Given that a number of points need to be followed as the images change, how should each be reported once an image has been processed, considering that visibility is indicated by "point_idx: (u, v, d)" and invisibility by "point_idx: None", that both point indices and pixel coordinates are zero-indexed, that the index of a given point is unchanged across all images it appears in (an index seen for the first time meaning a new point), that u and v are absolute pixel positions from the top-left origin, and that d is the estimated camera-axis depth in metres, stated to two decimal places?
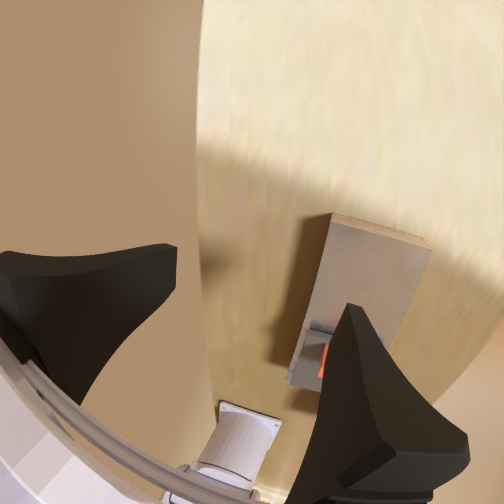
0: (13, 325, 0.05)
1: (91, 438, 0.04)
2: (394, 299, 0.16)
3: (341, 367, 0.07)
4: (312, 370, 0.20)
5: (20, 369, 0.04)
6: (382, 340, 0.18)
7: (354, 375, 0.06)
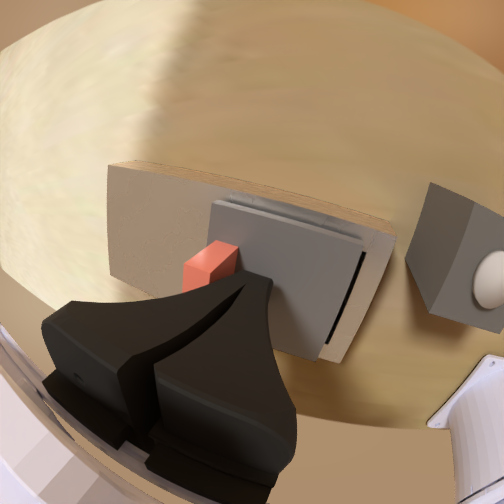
0: (90, 399, 0.04)
1: (91, 438, 0.04)
2: (162, 200, 0.12)
3: None
4: (271, 325, 0.12)
5: (20, 369, 0.04)
6: None
7: None
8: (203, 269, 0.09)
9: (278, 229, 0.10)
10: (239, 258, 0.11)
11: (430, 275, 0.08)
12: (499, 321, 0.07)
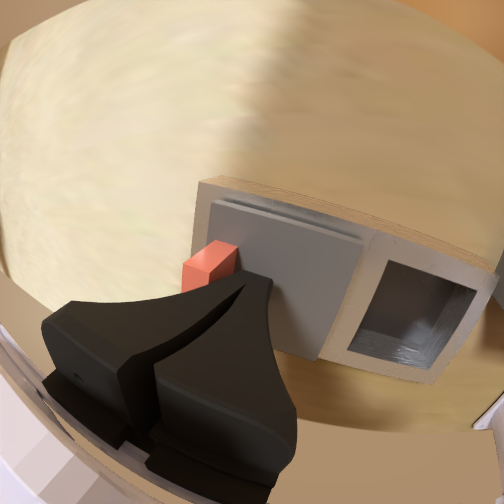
0: (90, 399, 0.04)
1: (91, 438, 0.04)
2: None
3: None
4: (271, 325, 0.12)
5: (20, 369, 0.04)
6: (371, 247, 0.10)
7: None
8: (202, 269, 0.09)
9: (278, 229, 0.10)
10: (238, 258, 0.11)
11: None
12: None
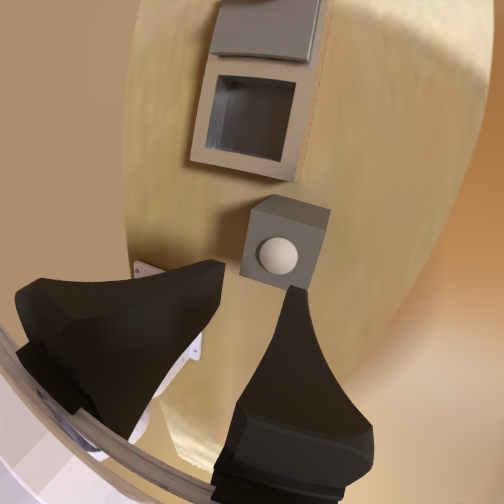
0: (53, 367, 0.05)
1: (91, 438, 0.04)
2: None
3: None
4: (236, 19, 0.12)
5: (20, 369, 0.04)
6: (303, 70, 0.13)
7: None
8: None
9: (308, 14, 0.10)
10: None
11: (272, 208, 0.15)
12: (248, 270, 0.15)
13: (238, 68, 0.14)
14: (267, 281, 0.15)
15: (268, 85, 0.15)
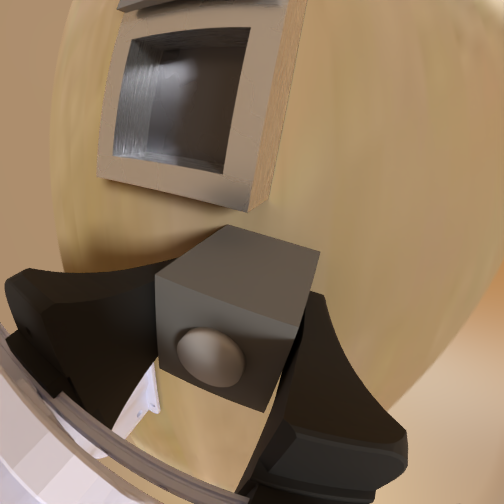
0: (38, 353, 0.05)
1: (91, 438, 0.04)
2: None
3: (293, 353, 0.07)
4: None
5: (20, 369, 0.04)
6: (263, 7, 0.06)
7: (295, 358, 0.06)
8: None
9: None
10: None
11: (203, 266, 0.08)
12: (170, 366, 0.08)
13: (159, 23, 0.07)
14: (201, 385, 0.08)
15: (215, 47, 0.08)
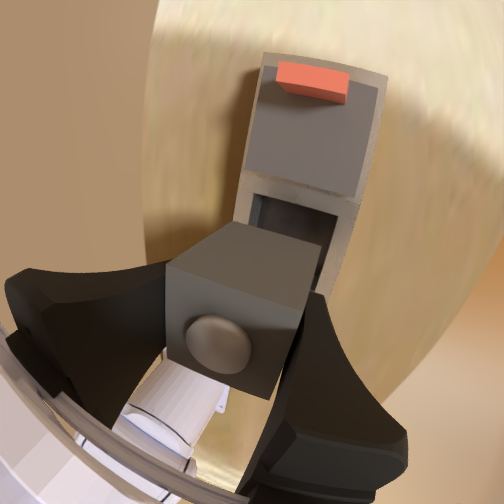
0: (38, 353, 0.05)
1: (91, 438, 0.04)
2: None
3: (293, 353, 0.07)
4: (276, 129, 0.13)
5: (20, 369, 0.04)
6: (347, 202, 0.14)
7: (295, 358, 0.06)
8: (346, 88, 0.09)
9: (362, 136, 0.12)
10: (335, 104, 0.11)
11: (211, 257, 0.08)
12: (178, 355, 0.09)
13: (277, 189, 0.15)
14: (207, 374, 0.09)
15: None
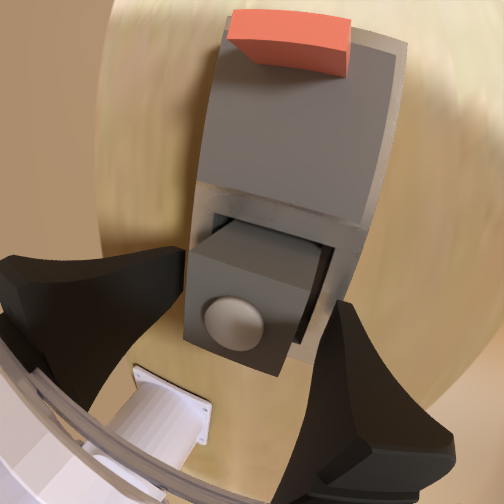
0: (19, 332, 0.05)
1: (91, 438, 0.04)
2: None
3: (329, 364, 0.07)
4: (241, 119, 0.08)
5: (20, 369, 0.04)
6: (348, 228, 0.09)
7: (339, 371, 0.06)
8: (347, 43, 0.05)
9: (374, 127, 0.07)
10: (331, 78, 0.07)
11: (228, 245, 0.09)
12: (195, 336, 0.10)
13: (245, 208, 0.10)
14: (222, 353, 0.10)
15: None
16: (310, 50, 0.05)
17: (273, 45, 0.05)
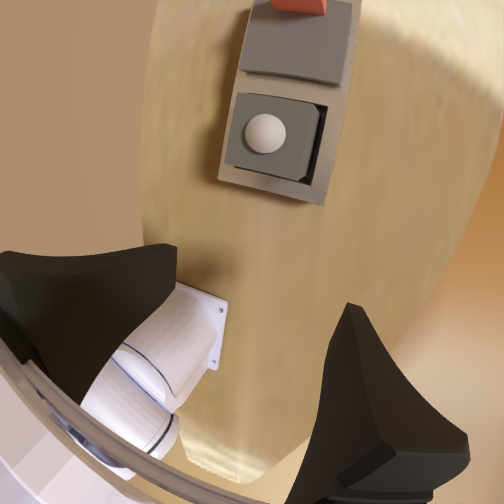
0: (13, 325, 0.05)
1: (91, 438, 0.04)
2: None
3: (342, 367, 0.07)
4: (267, 35, 0.12)
5: (20, 369, 0.04)
6: (335, 94, 0.13)
7: (354, 375, 0.06)
8: None
9: (342, 36, 0.11)
10: (316, 15, 0.11)
11: None
12: (234, 156, 0.14)
13: (269, 87, 0.14)
14: (254, 167, 0.13)
15: None
16: None
17: None
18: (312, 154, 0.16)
